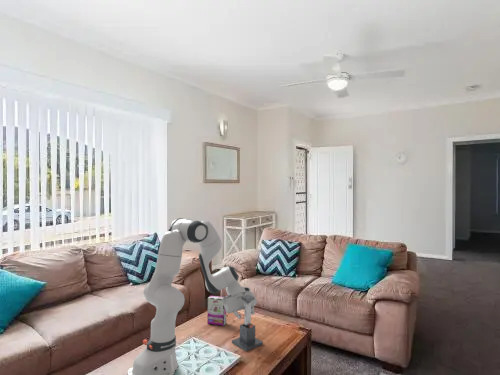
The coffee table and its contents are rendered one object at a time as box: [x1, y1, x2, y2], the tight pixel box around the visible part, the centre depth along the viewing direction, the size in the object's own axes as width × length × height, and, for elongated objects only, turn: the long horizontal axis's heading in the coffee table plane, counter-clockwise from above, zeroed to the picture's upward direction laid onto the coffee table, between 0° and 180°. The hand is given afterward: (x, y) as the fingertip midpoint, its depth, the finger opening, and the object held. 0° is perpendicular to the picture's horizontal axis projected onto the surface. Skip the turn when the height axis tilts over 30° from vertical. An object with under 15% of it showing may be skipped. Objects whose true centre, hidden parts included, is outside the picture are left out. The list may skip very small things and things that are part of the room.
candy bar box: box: [206, 295, 227, 327], centre depth 202 cm, size 11×5×16 cm, turn 73°
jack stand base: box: [231, 323, 264, 352], centre depth 177 cm, size 12×12×11 cm
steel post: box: [242, 295, 254, 328], centre depth 177 cm, size 5×5×24 cm
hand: (246, 316), depth 177 cm, fingers open, 8 cm apart
